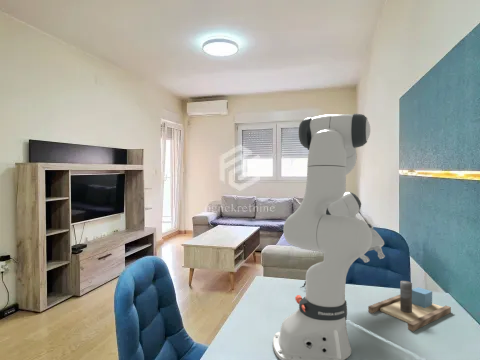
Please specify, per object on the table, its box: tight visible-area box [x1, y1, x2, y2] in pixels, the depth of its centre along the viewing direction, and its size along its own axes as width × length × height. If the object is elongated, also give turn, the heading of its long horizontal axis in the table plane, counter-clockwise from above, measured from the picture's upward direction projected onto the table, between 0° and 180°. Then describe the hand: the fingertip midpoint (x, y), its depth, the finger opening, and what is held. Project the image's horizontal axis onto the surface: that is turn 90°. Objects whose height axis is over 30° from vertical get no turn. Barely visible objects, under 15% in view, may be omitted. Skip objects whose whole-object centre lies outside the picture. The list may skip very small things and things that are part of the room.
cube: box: [412, 286, 433, 308], centre depth 111 cm, size 5×5×5 cm
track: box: [367, 294, 452, 332], centre depth 107 cm, size 24×16×3 cm, turn 121°
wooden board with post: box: [379, 280, 443, 324], centre depth 107 cm, size 20×12×11 cm, turn 121°
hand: (375, 259), depth 116 cm, fingers open, 8 cm apart
